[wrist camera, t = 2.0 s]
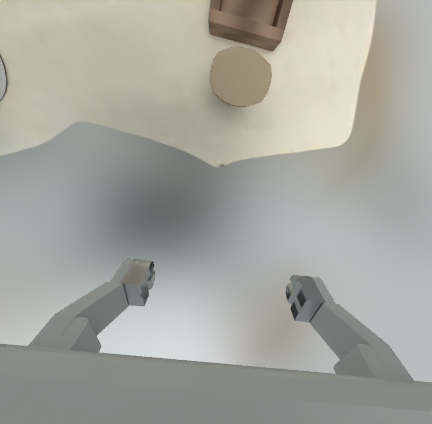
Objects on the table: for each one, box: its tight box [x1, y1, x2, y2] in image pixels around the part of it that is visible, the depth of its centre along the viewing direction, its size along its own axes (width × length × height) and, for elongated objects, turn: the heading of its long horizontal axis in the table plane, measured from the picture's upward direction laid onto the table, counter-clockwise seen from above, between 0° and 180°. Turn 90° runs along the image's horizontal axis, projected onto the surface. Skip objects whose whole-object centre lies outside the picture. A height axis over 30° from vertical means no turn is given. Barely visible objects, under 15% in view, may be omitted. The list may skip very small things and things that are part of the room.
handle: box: [210, 47, 272, 107], centre depth 25 cm, size 5×6×15 cm
